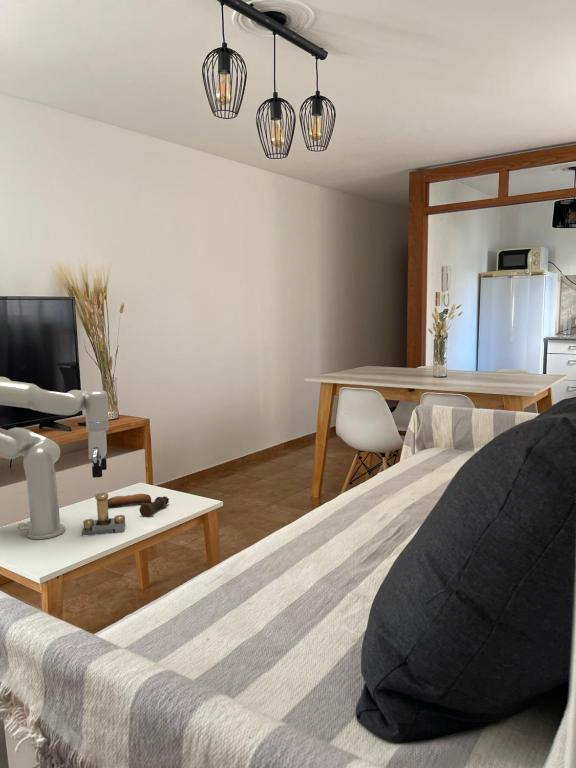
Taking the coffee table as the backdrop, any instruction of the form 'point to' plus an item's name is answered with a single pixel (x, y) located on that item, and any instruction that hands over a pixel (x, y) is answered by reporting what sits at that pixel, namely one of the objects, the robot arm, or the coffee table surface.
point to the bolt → (153, 506)
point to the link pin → (102, 508)
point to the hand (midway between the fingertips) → (99, 473)
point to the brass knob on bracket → (104, 526)
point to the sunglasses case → (128, 500)
